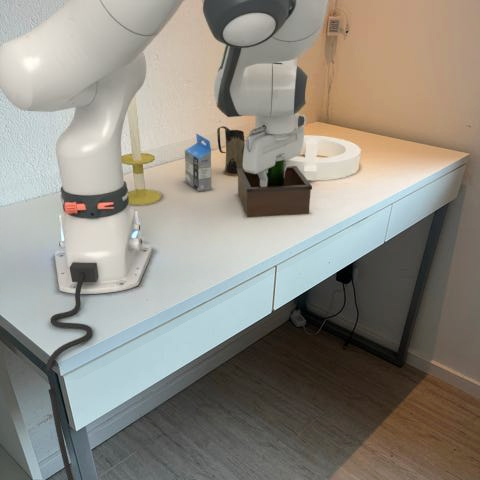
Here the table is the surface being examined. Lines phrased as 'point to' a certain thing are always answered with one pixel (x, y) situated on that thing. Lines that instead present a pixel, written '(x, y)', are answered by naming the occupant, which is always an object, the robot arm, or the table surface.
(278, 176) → the beer can
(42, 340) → the table surface
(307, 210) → the brown open box
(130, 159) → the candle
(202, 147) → the label tape box
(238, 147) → the mug
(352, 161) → the white circle with bar
